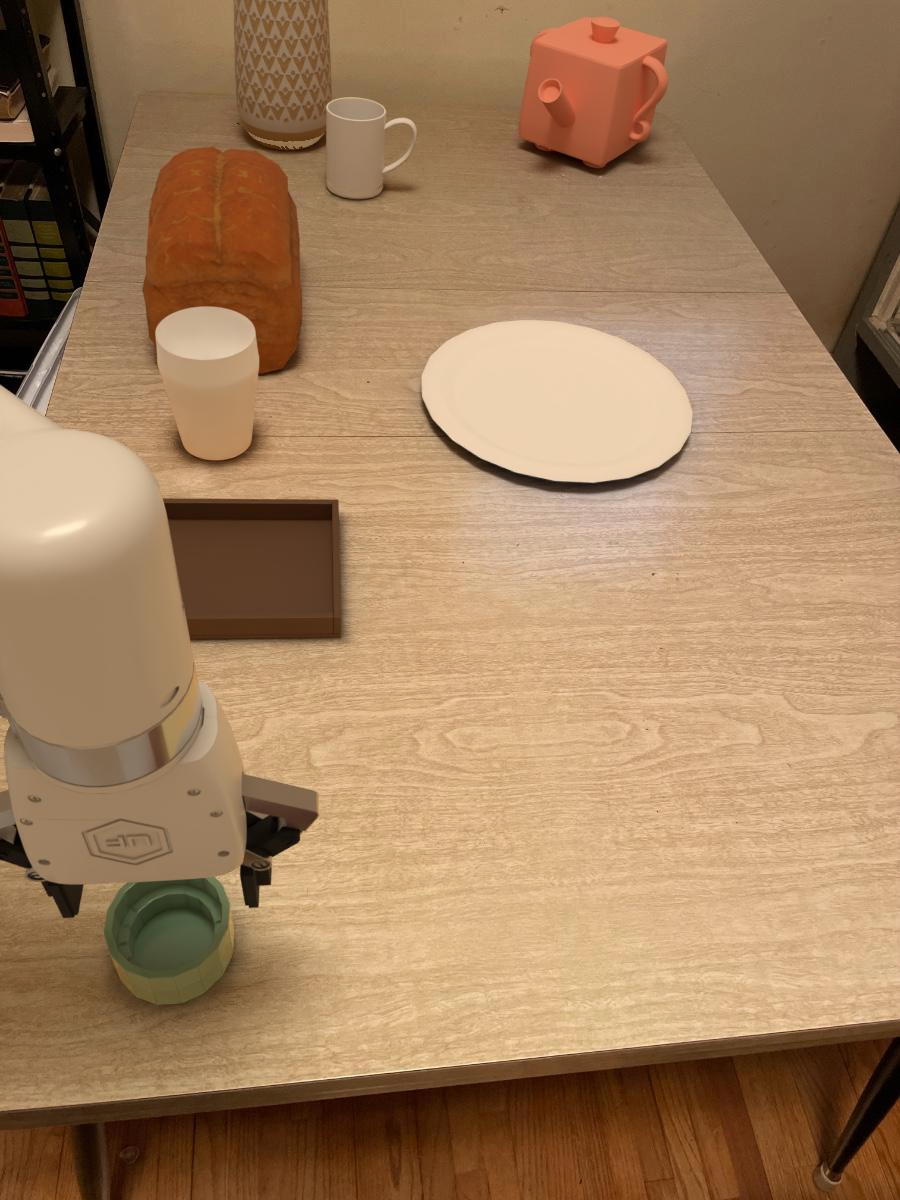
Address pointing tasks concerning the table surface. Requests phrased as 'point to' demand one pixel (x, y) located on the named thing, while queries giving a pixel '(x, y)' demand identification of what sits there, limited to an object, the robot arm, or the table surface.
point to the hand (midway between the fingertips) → (165, 888)
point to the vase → (282, 68)
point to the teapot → (592, 89)
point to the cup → (210, 378)
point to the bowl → (170, 937)
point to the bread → (226, 246)
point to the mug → (359, 146)
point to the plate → (556, 401)
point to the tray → (257, 567)
